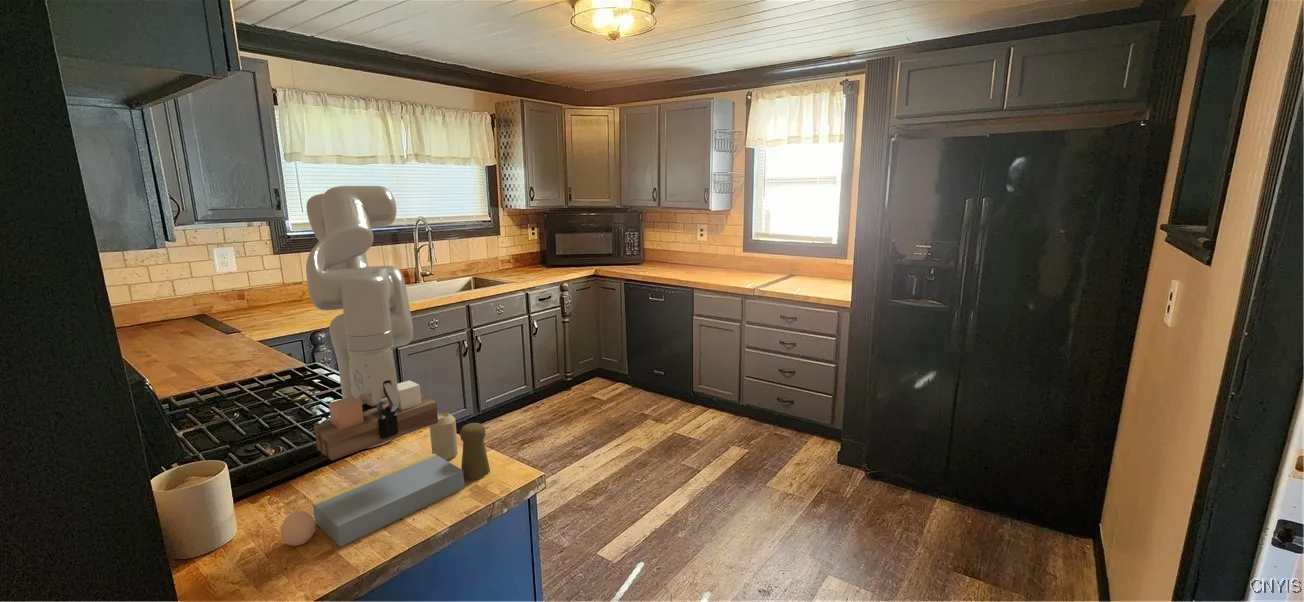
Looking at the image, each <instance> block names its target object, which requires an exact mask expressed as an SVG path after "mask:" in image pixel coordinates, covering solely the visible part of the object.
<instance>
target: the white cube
mask: <svg viewBox="0 0 1304 602" xmlns="http://www.w3.org/2000/svg"><path fill="white" fill-rule="evenodd" d="M397 386H398V397H397V398H398V400H399V402H400V404H399V406H398V409H400V410H404V409H407V408H411V407H414V406H417V405H420V404H421V395H422V393H421V386H420V384H418V383H416V382H414V381H412V380H406V381H402V382H397Z"/></svg>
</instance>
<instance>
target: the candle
mask: <svg viewBox="0 0 1304 602" xmlns="http://www.w3.org/2000/svg"><path fill="white" fill-rule="evenodd" d="M437 414H438V423H436V424H433V425H430V426H429V434H430V442H431V443H430V444H431V454H436V455H438V456H439V457H441V458H443V459H444V460H446V461H449V460H448V459H450V460H452V459H454V458H456V457H457V456H458V454H459V451H458V450H459V449H458V438H457V436H458V435H457V423H456V421H457V420H456V418H455V417H454V415H452V414H451V413H449V412H446V413H443V412H437ZM456 455H457V456H456ZM455 456H456V457H455ZM453 457H454V458H453ZM451 458H452V459H451Z"/></svg>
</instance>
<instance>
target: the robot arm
mask: <svg viewBox="0 0 1304 602" xmlns="http://www.w3.org/2000/svg"><path fill="white" fill-rule="evenodd" d="M306 214H307V218H308V221H309V225H310V227H311V230H312V232H313V234H314V236H315V237H316V239H317V241H318V242H317V243H316V244H315V245H314V246H313V248H312V249H311V250H310V252H309V254H308V256H307V259H306V262H305V263H306V264H305V274H306V281H307V289H308V296H309V299H310V302H311V303H312V305H313V306H314V307H315V308H316V309H319V310H321V311H335V310H336V311H337V310H342V311H343V313H342V314H339V315H336V316H335V317H333V318H332V320H331V321H330V323H329V328H328V330H329V337H330V340H331V343H332V344H331V345H332V347H333V349H334V353H335V358H336V361H337V362H336V363H337V368H338V373H339V383H340V387H341V388H340V390H341V397H342V398H341V399H345V398H348V397H354V398H356V399H357V400H359V401H361V402H362V411H366V410H370V409H373V408H376V407H377V409H378V412H379V416H380V418H379V419H378V424H379V433H380V438H381V439H385V438H388V437H391V436H394V435H397V434H398V425H397V410H398V406H399V404H400V402H399V400H398V398H397V397H398V386H397V384H398V380H397V372H396V371H397V370H396V366H395V361H394V357H393V352H392V348H397V347H403V346H406V345H409V344H410V343H411V342H412V340H413V338H414V325H413V319H412V313H411V309H410V302H409V297H408V290H407V287H406V282H405V279H404V278H405V277H404V275H403V273H402V271H401V270H400V268H398V267H397V266H393V265H376V266H375V265H374V266H373V265H372V266H369V263H368V258H367V252H368V251H369V250H370V249H371V247H372V245H373V243H374V234H373V229H377V228H378V229H379V228H385V227H388V226H389V225H392V224H393V223H394V221H395V220H396V217H397V204H396V201H395V196H394V195H393V194H392V192H391V190H389V188H387V187H385V186H380V185H340V186H333V187H330V188H328V189H327V190H326V191H325V192H324V193H319V194H315V195H313V196H311V197H310V198H309V199H308V200H307V201H306ZM386 404H388V407H386V408H385V410H383V406H382V405H386ZM393 440H394V439H391V440H388V441H385V442H383V443H380V444H377V445H374V446H371V447H369V448H366V449H372V448H376V447H379V446H382V445H385V444H387V443H389V442H391V441H393Z"/></svg>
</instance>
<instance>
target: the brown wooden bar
mask: <svg viewBox="0 0 1304 602" xmlns="http://www.w3.org/2000/svg"><path fill="white" fill-rule="evenodd" d="M388 404H389V403H388ZM388 404H386V405H382V406H383V410H385V408H386V407H388ZM379 418H380V416H379V412H378V409H377V407H376V408H373V409H370V410H366V411H363V419H364V422H363V423H360V424H357V425H354V426H351V427H347V428H344V429H341V430H340V429H339V428H337V427H336V426H334V425H333V424H331V420H330V421H326V422H324V423H321V424H317V425H314V426H313V429H314V437H315V443H316V444H315V445H316V450H317V451H319V452H321V453H322V454H323V455H324V456H325V457H327V458H328V459H329V460H331V461H334V460H338V459H341V458H343V457H345V456H348V455H352V454H354V453H357V452H361V451H363V450H365V449H366V448H367V449H370V448H369V447H371V446H374V445H377V444H380V443H383V442H385V441H388V440H391V439H393V440H394V439H396V438H400V437H402V436H405V435H407V434H410V433H413V432H416V431H418V430H422V429H425V428H427V427H430V425H433V424H436V423H438V404H437V401H436V400H435V399H434V400H433V399H432V398H430V397H427V396H425V395H423V394H421V404H420V405H417V406H414V407H411V408H407V409H404V410H400V409H398V410H397V425H398V434H397V435H394V436H391V437H388V438H385V439H381V438H380V433H379V424H378V419H379ZM391 441H392V440H391Z"/></svg>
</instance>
